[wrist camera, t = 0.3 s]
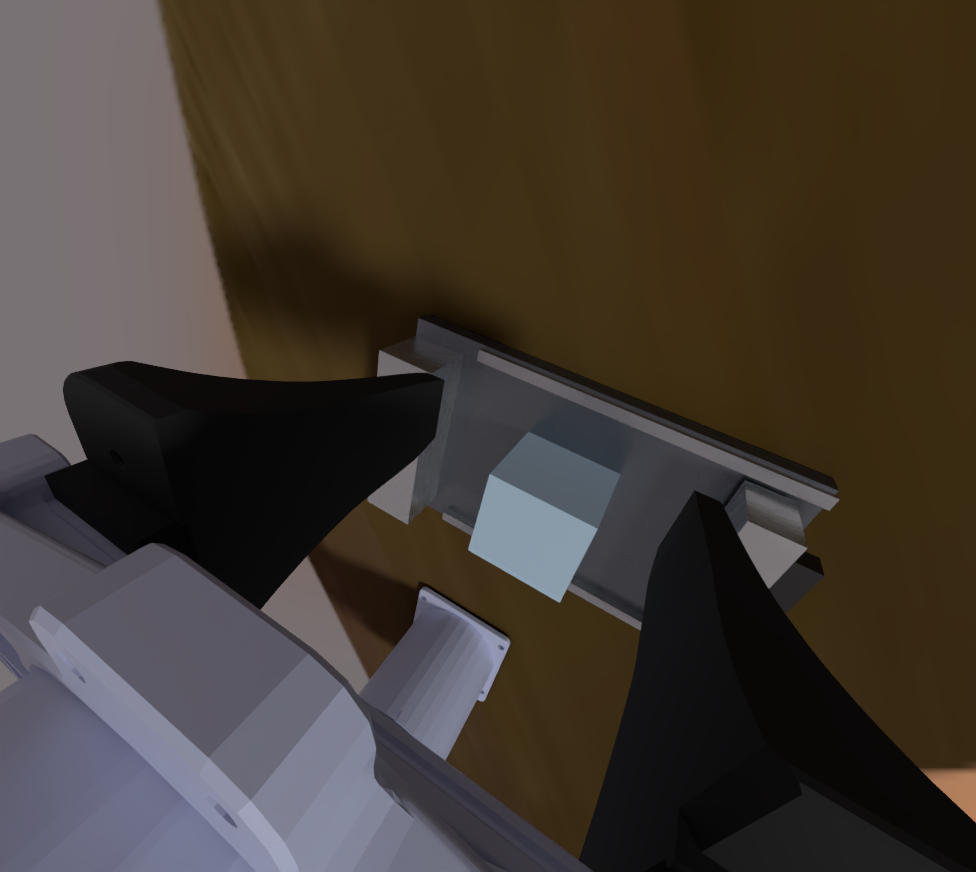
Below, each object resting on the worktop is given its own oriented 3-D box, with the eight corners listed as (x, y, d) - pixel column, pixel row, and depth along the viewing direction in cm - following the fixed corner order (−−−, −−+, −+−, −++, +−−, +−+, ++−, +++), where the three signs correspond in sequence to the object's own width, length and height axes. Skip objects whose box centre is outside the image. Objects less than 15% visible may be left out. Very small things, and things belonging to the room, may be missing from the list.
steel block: (585, 543, 23) (559, 602, 19) (505, 501, 24) (468, 550, 21) (620, 474, 20) (597, 529, 17) (528, 431, 22) (489, 474, 18)
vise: (692, 638, 24) (687, 703, 20) (405, 480, 29) (366, 512, 26) (833, 478, 17) (857, 537, 14) (429, 314, 23) (380, 330, 19)
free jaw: (703, 649, 22) (701, 701, 20) (644, 617, 23) (635, 663, 21) (829, 515, 17) (845, 565, 14) (745, 479, 17) (747, 521, 15)
